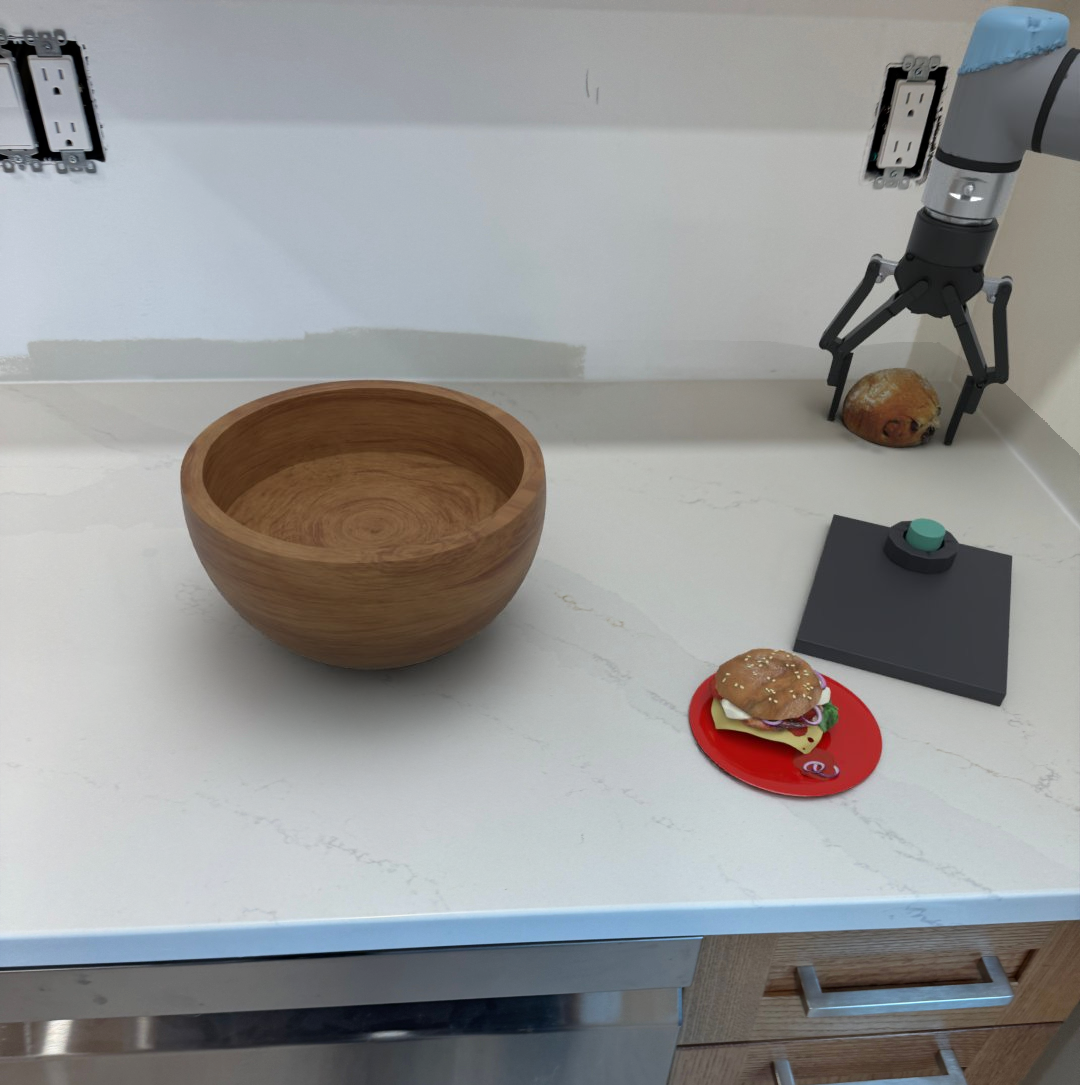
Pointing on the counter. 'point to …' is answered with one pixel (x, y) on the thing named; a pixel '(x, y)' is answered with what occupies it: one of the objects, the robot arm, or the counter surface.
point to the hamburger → (784, 725)
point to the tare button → (925, 534)
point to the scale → (911, 610)
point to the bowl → (366, 517)
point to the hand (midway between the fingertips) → (889, 426)
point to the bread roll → (892, 408)
